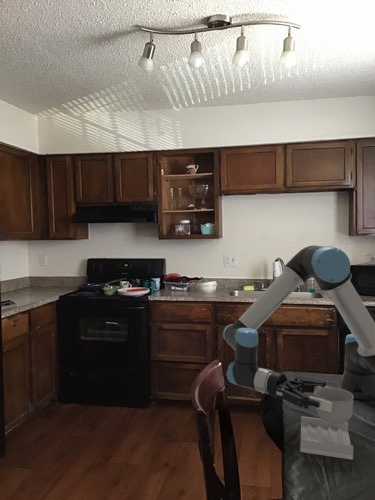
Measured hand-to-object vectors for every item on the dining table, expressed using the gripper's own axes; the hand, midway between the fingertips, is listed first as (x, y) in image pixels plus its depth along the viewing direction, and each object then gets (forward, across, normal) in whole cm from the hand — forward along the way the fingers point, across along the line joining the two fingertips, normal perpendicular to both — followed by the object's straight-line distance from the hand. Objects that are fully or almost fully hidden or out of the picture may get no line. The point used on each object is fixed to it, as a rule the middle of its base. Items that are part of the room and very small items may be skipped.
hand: (339, 401), depth 123 cm
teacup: (-3, -1, -6) cm, 7 cm away
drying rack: (-4, 0, -14) cm, 14 cm away
